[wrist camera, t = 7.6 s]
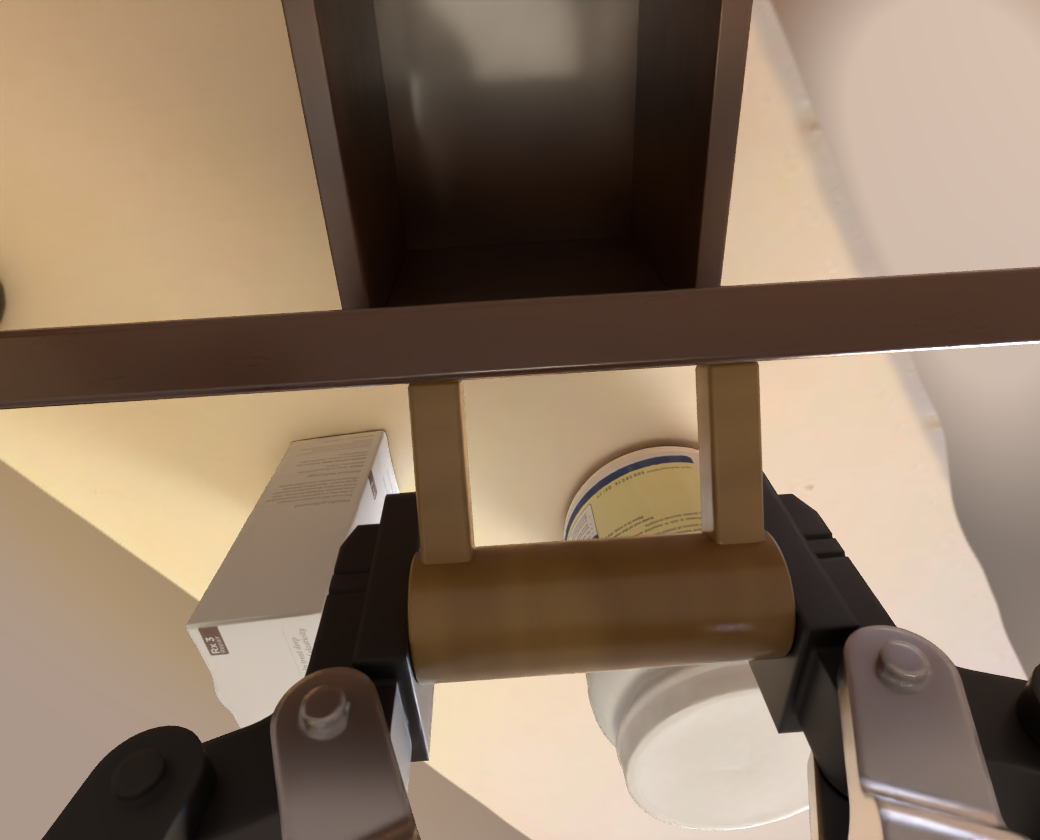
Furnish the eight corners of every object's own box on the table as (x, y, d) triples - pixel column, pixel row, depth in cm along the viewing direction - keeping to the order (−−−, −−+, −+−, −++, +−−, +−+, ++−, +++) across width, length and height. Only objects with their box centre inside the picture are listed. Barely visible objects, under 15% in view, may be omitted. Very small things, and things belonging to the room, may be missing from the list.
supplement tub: (537, 566, 44) (563, 828, 29) (599, 416, 38) (670, 649, 23) (700, 598, 46) (800, 855, 31) (781, 460, 40) (951, 698, 26)
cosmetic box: (414, 531, 42) (382, 747, 29) (322, 543, 42) (250, 764, 29) (382, 420, 37) (328, 617, 25) (281, 435, 38) (175, 637, 25)
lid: (-31, 331, 6) (31, 801, 7) (1215, 255, 7) (1203, 715, 7) (349, 357, 22) (361, 500, 23) (718, 334, 22) (723, 476, 23)
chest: (338, -107, 25) (238, -210, 15) (661, -123, 26) (781, -236, 15) (394, 263, 33) (352, 363, 23) (643, 248, 33) (714, 340, 23)
